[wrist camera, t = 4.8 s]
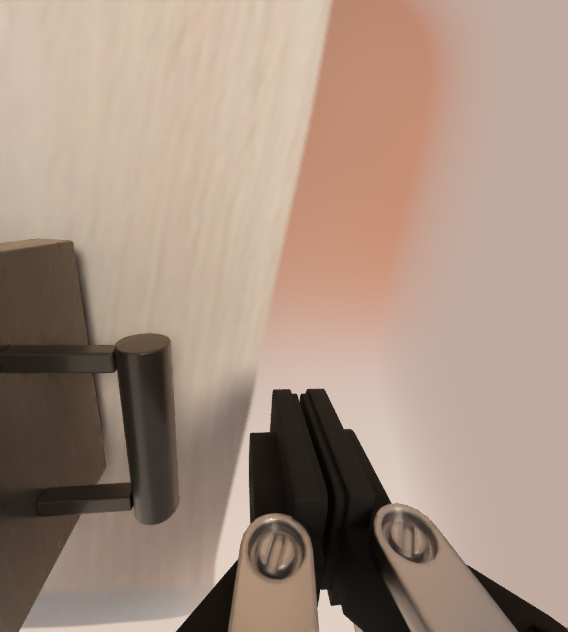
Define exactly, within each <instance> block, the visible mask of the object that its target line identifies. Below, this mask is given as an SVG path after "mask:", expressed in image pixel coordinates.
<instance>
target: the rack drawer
mask: <svg viewBox="0 0 568 632" xmlns="http://www.w3.org/2000/svg"><path fill="white" fill-rule="evenodd" d="M116 370H117V372H118V381H119V389H120V398H121V406H122V414H123V423H124V431H125V439H126V448H127V456H128V464H129V473H130V481H131V482H130V483H114V484H97V483H98V481H99V480H100V478H101V476H102V474H103V472H104V470H105V468H106V459H105V453H104V446H103V439H102V432H101V426H100V419H99V412H98V406H97V399H96V392H95V386H94V379H93V373H113V372H115V371H116ZM178 505H179V482H178V463H177V445H176V426H175V408H174V390H173V371H172V353H171V340H170V339H169V338H168V337H167V336H164V335H161V334H151V333H149V334H137V335H133V336H129V337H126V338H123V339H121V340H120V341H118V342H117V343H116V345H88V339H87V332H86V325H85V319H84V312H83V305H82V298H81V292H80V285H79V278H78V272H77V265H76V258H75V251H74V245H73V241H70V240H53V239H31V240H23V241H14V242H6V243H0V632H19V630H20V628H21V627H22V625H23V623H24V621H25V619H26V617H27V615H28V613H29V612H30V610H31V608H32V606H33V604H34V602H35V600H36V598H37V596H38V595H39V593H40V591H41V589H42V587H43V585H44V583H45V581H46V579H47V578H48V576H49V574H50V572H51V570H52V568H53V566H54V564H55V562H56V561H57V559H58V557H59V555H60V553H61V551H62V549H63V547H64V546H65V544H66V542H67V540H68V538H69V536H70V534H71V532H72V530H73V529H74V527H75V525H76V523H77V521H78V519H79V517H80V515H81V514H89V513H103V512H116V511H130V510H132V508H133V506H134V514H135V517H136V519H137V520H138V521H139V522H140V523H142V524H144V525H156V524H160V523H162V522H164V521H166V520H167V519H169V518H170V517H171V516H172V515H173V514H174V513H175V511H176V509H177V508H178Z"/></svg>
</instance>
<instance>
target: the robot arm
mask: <svg viewBox="0 0 568 632" xmlns="http://www.w3.org/2000/svg"><path fill="white" fill-rule="evenodd" d="M249 493H250V523H251V524H250V525H249V527H248V528H247V530H246V531H245V533H244V534H243V538H242V541H241V545H240V551H239V558H238V560H237V561H236V562H235V563H234V565H233V566H232V567H231V568H230V569H229V570H228V572H227V573H226V574H225V575H224V576H223V577H222V579H221V580H220V581H219V582H218V583H217V584H216V586H215V587H214V588H213V589H212V590H211V591H210V593H209V594H208V595H207V596H206V597H205V598H204V600H203V601H202V602H201V603H200V604H199V605H198V607H197V608H196V609H195V610H194V611H193V612H192V614H191V615H190V616H189V617H188V618H187V620H186V621H185V622H184V623H183V624H182V625H181V627H180V628H179V629H178V630H177V631H176V632H319V625H318V612H317V607H318V601H319V594H320V589H321V590H325V589H327V590H328V595H329V600H330V604H331V606H334V605H341V606H342V610H343V614H344V615H345V616H346V617H348V618H349V619H350V620H351V621H352V622H353V623H354V629H355V632H568V628H565V627H564V626H563V625H561V624H560V623H558V622H557V621H556V620H554V619H553V618H552V617H550V616H549V615H547V614H545V613H544V612H542V611H541V610H539V609H537V608H536V607H534V606H533V605H531V604H529V603H528V602H526V601H525V600H523V599H521V598H519V597H518V596H516V595H515V594H513V593H511V592H510V591H508V590H507V589H505V588H504V587H502V586H500V585H499V584H497V583H495V582H494V581H492V580H491V579H489V578H487V577H486V576H484V575H483V574H481V573H479V572H478V571H476V570H474V569H473V568H471V567H470V566H468V565H466V564H465V563H464V561H463V560H462V559H461V557H460V556H459V555H458V554H457V552H456V551H455V550H454V548H453V547H452V546H451V545H450V543H449V542H448V541H447V539H446V538H445V537H444V536H443V534H442V533H441V532H440V530H439V529H438V528H437V527H436V526H435V525H434V523H433V522H432V521H431V520H430V519H429V518H428V517H427V516H425V515H424V514H422V513H421V512H420V511H418V510H416V509H414V508H412V507H410V506H407V505H403V504H392V503H391V502H390V500H389V498H388V496H387V494H386V492H385V490H384V488H383V486H382V484H381V483H380V481H379V479H378V477H377V475H376V473H375V471H374V469H373V467H372V465H371V463H370V461H369V459H368V458H367V456H366V454H365V452H364V450H363V448H362V446H361V444H360V442H359V440H358V439H357V436H356V435H355V433H354V432H353V430H351V429H343V427H342V424H341V422H340V420H339V418H338V416H337V414H336V412H335V410H334V408H333V406H332V404H331V402H330V400H329V397H328V395H327V393H326V391H325V390H324V389H307V391H306V394H301V395H300V402H299V399H298V396H297V394H292V393H291V390H289V389H282V390H273V394H272V409H271V425H270V432H267V433H266V432H265V433H250V447H249Z"/></svg>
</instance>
